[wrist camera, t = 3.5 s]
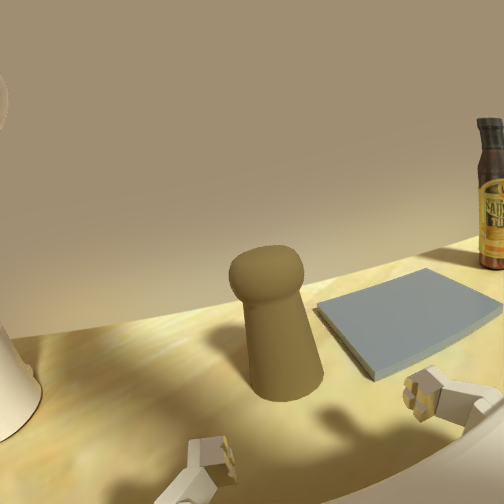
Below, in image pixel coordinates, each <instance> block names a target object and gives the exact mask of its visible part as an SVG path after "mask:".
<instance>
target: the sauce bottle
mask: <svg viewBox="0 0 504 504" xmlns="http://www.w3.org/2000/svg"><path fill="white" fill-rule="evenodd" d="M477 127H478V129H479V131H480V135H481V142H482V155H481V158H480V161H479V164H478V179H479V187H478V192H479V251H480V253H479V261H480V263H481V264H482V265H483V266H486V267H489V268H493V269H504V133H503V129H504V126H503V122H502V119H501V118H499V117H483V118H478V119H477Z"/></svg>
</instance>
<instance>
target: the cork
mask: <svg viewBox="0 0 504 504" xmlns="http://www.w3.org/2000/svg"><path fill="white" fill-rule="evenodd" d="M303 280H304V268H303V264H302V261H301V259H300V257H299V255H298V254H297V253H296V251H295V250H294V249H292V248H289V247H287V246H281V245H278V246H277V245H275V246H264V247H259V248H255V249H252V250H249V251H247V252H244V253H242V254H240V255H239V256H237V257H236V258H235V259H234V260H233V261H232V263H231V266H230V269H229V282H230V286H231V288H232V290H233V292H234V294H235V295H236V297H237V298H238V299H239V300H240V301H242V302H243V309H244V318H245V328H246V337H247V346H248V356H249V365H250V374H251V382H252V388H253V389H254V391H255V393H256V394H257V395H259V396H260V397H261V398H263V399H267V400H270V401H276V402H287V401H292V400H297V399H300V398H302V397H304V396H307V395H309V394H310V393H311V392H313V391H314V390H315V389H317V388H318V386H319V385H320V383H321V382H322V380H323V376H324V372H323V368H322V365H321V361H320V358H319V354H318V351H317V348H316V344H315V341H314V338H313V334H312V331H311V328H310V324H309V321H308V318H307V315H306V311H305V308H304V305H303V302H302V299H301V295H300V292H299V290H300V288H301V286H302V283H303Z"/></svg>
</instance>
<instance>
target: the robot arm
mask: <svg viewBox="0 0 504 504" xmlns="http://www.w3.org/2000/svg"><path fill="white" fill-rule="evenodd" d="M7 110H8V91H7V87H6V83H5V81H4V79H3V77H2V76H1V74H0V131H1V129H2V127H3V125H4V122H5V119H6V115H7ZM33 374H34V373H33V370H32V368H31V367H30V365H29V364H25V363H24V362H23V360H22V359H21V357H20V355H19V354H18V352H17V350H16V349H15V347H14V345H13V344H12V342H11V340H10V339H9V337H8V335H7V333H6V331H5V330H4V328H3V326H2V324H1V323H0V441H2V440H4V439H6V438H7V437H9V436H10V435H12V434H13V433H14V432H16V431H17V430H18V429H19V428H20V427H21V426H22V425H23V424H24V423H25V422H26V421H27V420H28V419H29V418H30V416H31V415H32V414H33V412H34V411H35V409H36V407H37V405H38V403H39V401H40V398H41V386H40V384H39V383H38V382H37V381H36V379H35V378H34V377H33ZM404 385H405V386H406V388H405V389H404V391H403V400H404V403H405V405H406V406H407V408H408V409H411V410H414V411H413V415H414V416H415V417H416V418H417V420H418V421H419V422H420V423H421V422H423V421H425V420H427V419H429V418H431V417H432V416H434V415H435V416H436V417H439V418H441V419H444V420H447V421H450V422H452V423H455V424H458V425H461V426H463V427H465V428H464V431H463V433H462V436H461V437H459V438H458V439H456V440H455V441H453V442H452V443H450V444H449V445H447V446H446V447H444V448H443V449H441V450H439V451H438V452H436V453H434V454H433V455H431V456H429V457H428V458H426V459H424V460H422V461H420V462H419V463H417V464H415V465H413V466H411V467H409V468H407V469H405V470H403V471H401V472H399V473H397V474H395V475H393V476H391V477H389V478H387V479H385V480H382V481H380V482H378V483H376V484H373V485H371V486H369V487H366V488H364V489H361V490H359V491H356V492H353V493H351V494H348V495H345V496H342V497H340V498H337V499H334V500H331V501H328V502H324V503H321V504H504V395H503V394H502V393H500V392H499V391H498V390H497V389H496V388H494V387H490V386H484V385H478V384H472V383H466V382H461V381H456V380H454V381H453V382H452V381H451V380H450V379H449V378H448V377H447V376H446V375H445V374H443V373H442V372H441V371H440V370H439V369H438V368H437V367H435V366H434V365H431V366H429V367H427V368H425V369H423V370H421V371H419V372H417V373H415V374H413V375H411V376H409V377H407V378H406V379H405V381H404ZM234 465H235V463H234V457H233V453H232V450H231V448H230V446H229V445H227V439H226V437H225V435H222V436H215V437H207V438H200V439H191V440H189V442H188V457H187V468H184V469H183V470H182V471H181V472H180V473H179V475H178V476H177V477H176V478H175V479H174V480H173V482H172V483H171V484H170V485H169V486H168V487H167V488H166V490H165V491H164V492H163V493H162V494H161V495H160V496H159V497H158V498H157V500H156V501H155V502H154V504H209V502H210V501H211V499H212V497H213V496H214V494H215V492H216V491H217V489H218V488H217V487H224V486H230V485H236V484H237V480H236V472H235V470H234V468H233V467H234Z"/></svg>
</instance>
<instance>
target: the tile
mask: <svg viewBox="0 0 504 504" xmlns="http://www.w3.org/2000/svg"><path fill="white" fill-rule="evenodd" d="M317 308H318V312H319V313H320V314H321V315H322V317H323V318H324V319H325V320H326V322H327V323H328V324H329V325H330V327H331V328H332V329H333V330H334V332H335V333H336V334H337V335H338V336H339V338H340V339H341V340H342V341H343V343H344V344H345V345H346V346H347V348H348V349H349V350H350V351H351V353H352V354H353V355H354V356H355V358H356V359H357V360H358V361H359V363H360V364H361V365H362V366H363V368H364V369H365V370H366V371H367V373H368V374H369V375H370V376H371V378H372V379H373V380H374V381H378V380H380V379H382V378H385V377H387V376H389V375H392V374H394V373H396V372H398V371H401V370H403V369H405V368H407V367H409V366H411V365H413V364H415V363H417V362H420V361H422V360H424V359H426V358H427V357H429V356H431V355H433V354H435V353H437V352H439V351H441V350H443V349H445V348H446V347H448V346H450V345H452V344H454V343H455V342H457V341H459V340H461V339H462V338H464V337H466V336H467V335H469V334H471V333H472V332H474V331H476V330H477V329H479V328H480V327H482V326H483V325H485V324H487V323H488V322H490V321H491V320H493V319H494V318H496V317H497V316H499V315H500V314H501V313H502V310H503V304H502V303H500V302H498V301H496V300H494V299H492V298H490V297H488V296H486V295H484V294H482V293H480V292H477V291H475V290H473V289H471V288H469V287H467V286H465V285H463V284H460V283H458V282H456V281H454V280H452V279H450V278H447V277H445V276H443V275H441V274H438V273H436V272H434V271H432V270H429V269H427V268H425V269H422V270H419V271H416V272H414V273H411V274H408V275H405V276H402V277H399V278H396V279H393V280H390V281H387V282H384V283H381V284H378V285H375V286H372V287H369V288H366V289H363V290H360V291H357V292H353V293H350V294H347V295H344V296H340V297H337V298H334V299H330V300H327V301H323V302H320V303H317Z"/></svg>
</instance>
